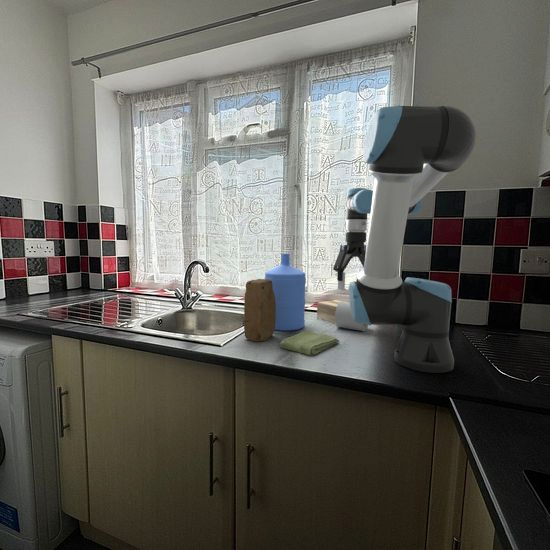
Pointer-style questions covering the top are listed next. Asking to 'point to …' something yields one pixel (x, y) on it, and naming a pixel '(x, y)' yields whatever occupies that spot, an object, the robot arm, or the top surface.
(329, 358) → the top surface
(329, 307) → the oak brick
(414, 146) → the robot arm
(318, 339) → the washcloth
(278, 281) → the water jug
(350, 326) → the toilet paper
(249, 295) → the block
